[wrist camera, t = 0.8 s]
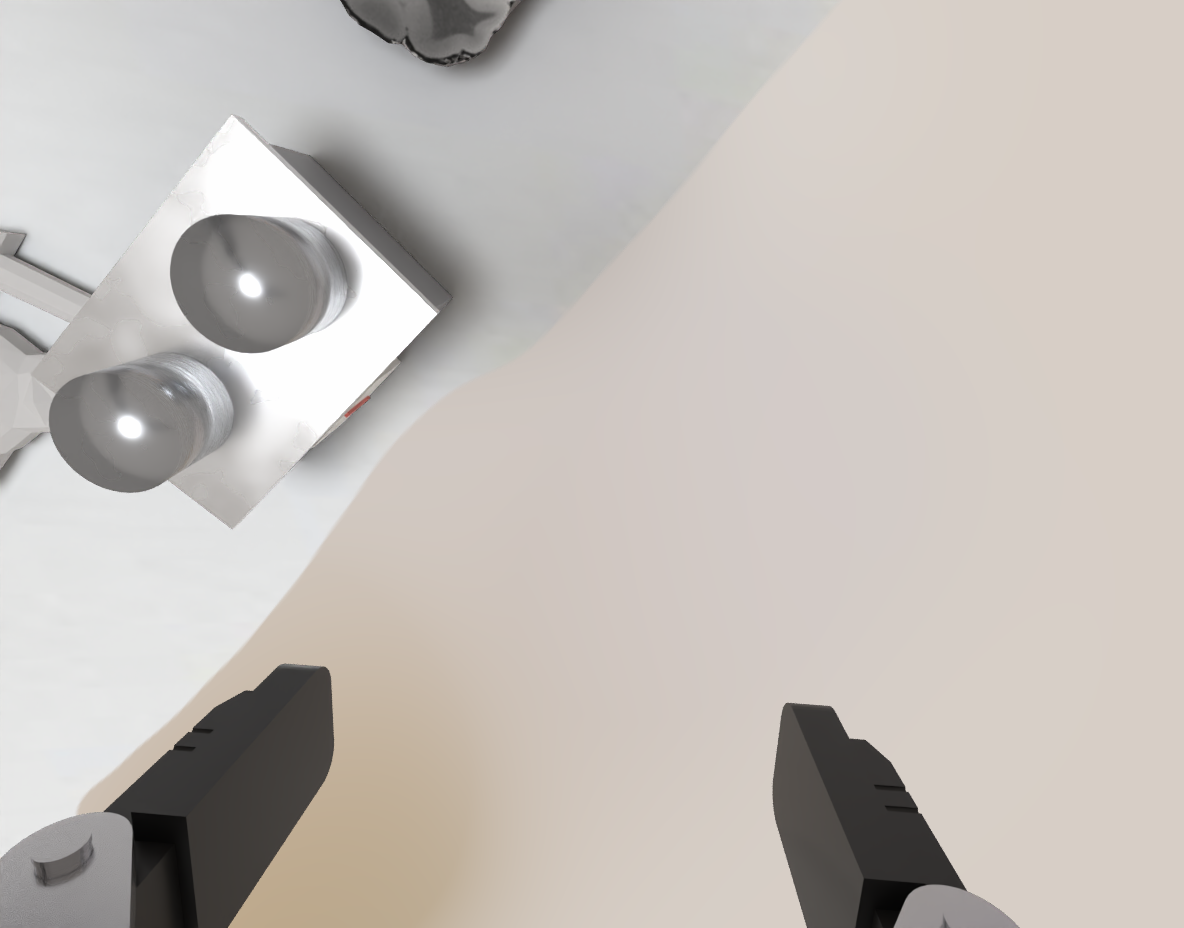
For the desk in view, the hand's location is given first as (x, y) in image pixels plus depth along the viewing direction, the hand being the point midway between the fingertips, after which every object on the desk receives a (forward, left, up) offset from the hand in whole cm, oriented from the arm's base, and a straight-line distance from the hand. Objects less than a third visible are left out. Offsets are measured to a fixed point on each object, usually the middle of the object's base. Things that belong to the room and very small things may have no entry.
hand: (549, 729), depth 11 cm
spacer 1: (-16, +1, -18) cm, 24 cm away
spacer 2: (-11, +6, -18) cm, 22 cm away
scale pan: (-14, +3, -19) cm, 23 cm away
